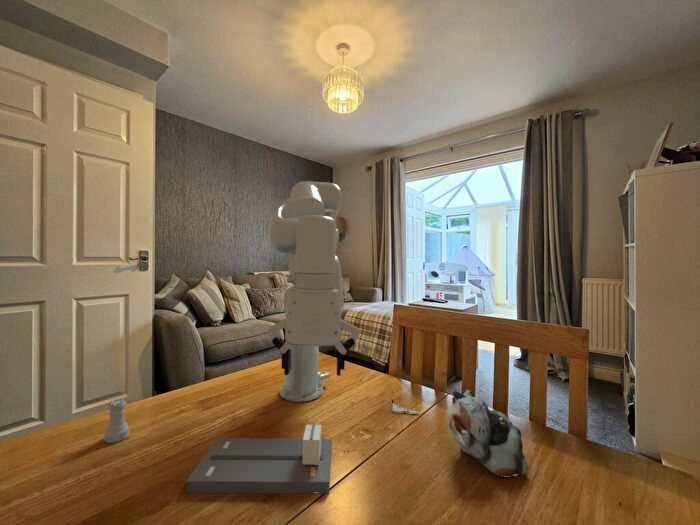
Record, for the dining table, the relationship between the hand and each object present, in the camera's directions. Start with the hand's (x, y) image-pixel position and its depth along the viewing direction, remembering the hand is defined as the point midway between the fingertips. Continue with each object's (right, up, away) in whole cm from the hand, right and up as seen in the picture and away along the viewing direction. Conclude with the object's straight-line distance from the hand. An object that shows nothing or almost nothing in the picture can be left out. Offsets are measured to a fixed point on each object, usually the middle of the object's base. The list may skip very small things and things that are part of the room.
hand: (313, 372), depth 57 cm
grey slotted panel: (-9, -18, 0) cm, 20 cm away
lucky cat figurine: (+35, -19, +4) cm, 40 cm away
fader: (0, -16, 0) cm, 16 cm away
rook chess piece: (-44, -17, +8) cm, 48 cm away
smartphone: (+22, -19, +28) cm, 41 cm away
